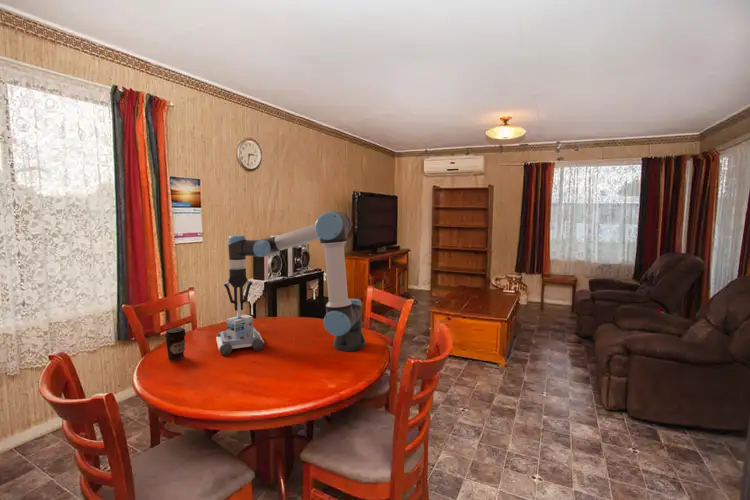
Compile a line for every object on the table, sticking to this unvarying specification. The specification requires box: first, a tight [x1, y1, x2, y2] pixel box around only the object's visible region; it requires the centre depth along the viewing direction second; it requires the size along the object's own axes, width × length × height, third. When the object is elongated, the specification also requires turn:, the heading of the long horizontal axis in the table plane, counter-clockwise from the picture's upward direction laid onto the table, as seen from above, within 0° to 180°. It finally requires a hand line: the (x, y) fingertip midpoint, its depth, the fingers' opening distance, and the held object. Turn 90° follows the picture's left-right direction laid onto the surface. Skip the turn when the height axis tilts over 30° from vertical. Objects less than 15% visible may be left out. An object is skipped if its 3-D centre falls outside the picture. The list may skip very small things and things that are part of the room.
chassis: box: [215, 327, 265, 356], centre depth 187 cm, size 21×20×6 cm
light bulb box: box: [226, 314, 254, 340], centre depth 187 cm, size 11×7×11 cm, turn 148°
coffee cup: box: [164, 327, 186, 362], centre depth 170 cm, size 9×8×13 cm
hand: (239, 316), depth 186 cm, fingers closed
